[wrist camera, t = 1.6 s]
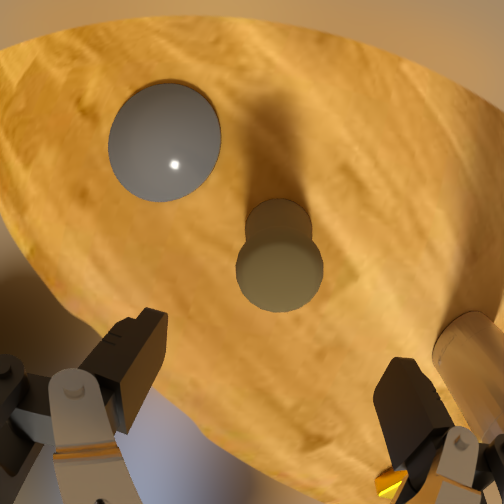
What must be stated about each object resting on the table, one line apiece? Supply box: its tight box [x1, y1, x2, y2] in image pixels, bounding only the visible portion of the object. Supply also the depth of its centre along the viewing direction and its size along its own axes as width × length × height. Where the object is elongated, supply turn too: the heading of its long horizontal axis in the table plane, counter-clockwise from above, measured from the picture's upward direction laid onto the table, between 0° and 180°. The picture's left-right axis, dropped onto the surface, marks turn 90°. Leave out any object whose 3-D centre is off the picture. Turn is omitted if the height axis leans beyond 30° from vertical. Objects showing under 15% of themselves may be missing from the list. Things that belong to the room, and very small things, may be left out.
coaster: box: [108, 84, 221, 202], centre depth 24 cm, size 11×11×1 cm
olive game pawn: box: [236, 199, 323, 312], centre depth 21 cm, size 6×6×11 cm
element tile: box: [375, 468, 408, 499], centre depth 36 cm, size 15×15×5 cm
